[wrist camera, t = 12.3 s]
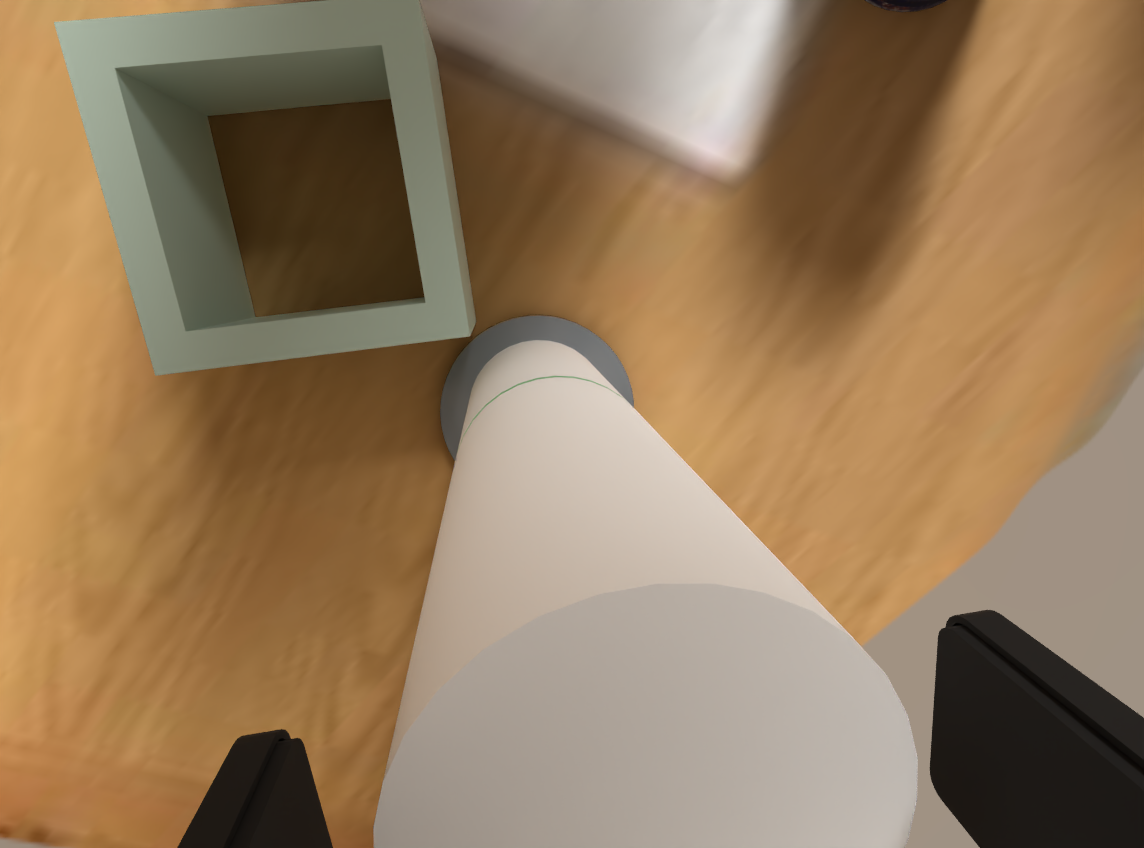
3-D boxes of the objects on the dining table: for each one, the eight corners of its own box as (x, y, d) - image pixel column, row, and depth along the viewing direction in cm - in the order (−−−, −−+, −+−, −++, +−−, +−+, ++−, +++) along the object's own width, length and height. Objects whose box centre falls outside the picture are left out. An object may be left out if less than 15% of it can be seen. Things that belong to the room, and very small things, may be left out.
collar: (163, 82, 28) (54, 22, 21) (436, 58, 28) (417, -7, 22) (231, 351, 31) (155, 375, 24) (476, 321, 32) (470, 336, 25)
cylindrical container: (461, 467, 32) (353, 1045, 8) (477, 330, 31) (398, 557, 7) (595, 481, 33) (844, 1033, 9) (617, 350, 32) (985, 606, 8)
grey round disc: (426, 327, 31) (424, 329, 31) (622, 303, 32) (625, 304, 31) (458, 511, 34) (457, 517, 33) (638, 485, 35) (641, 490, 34)
